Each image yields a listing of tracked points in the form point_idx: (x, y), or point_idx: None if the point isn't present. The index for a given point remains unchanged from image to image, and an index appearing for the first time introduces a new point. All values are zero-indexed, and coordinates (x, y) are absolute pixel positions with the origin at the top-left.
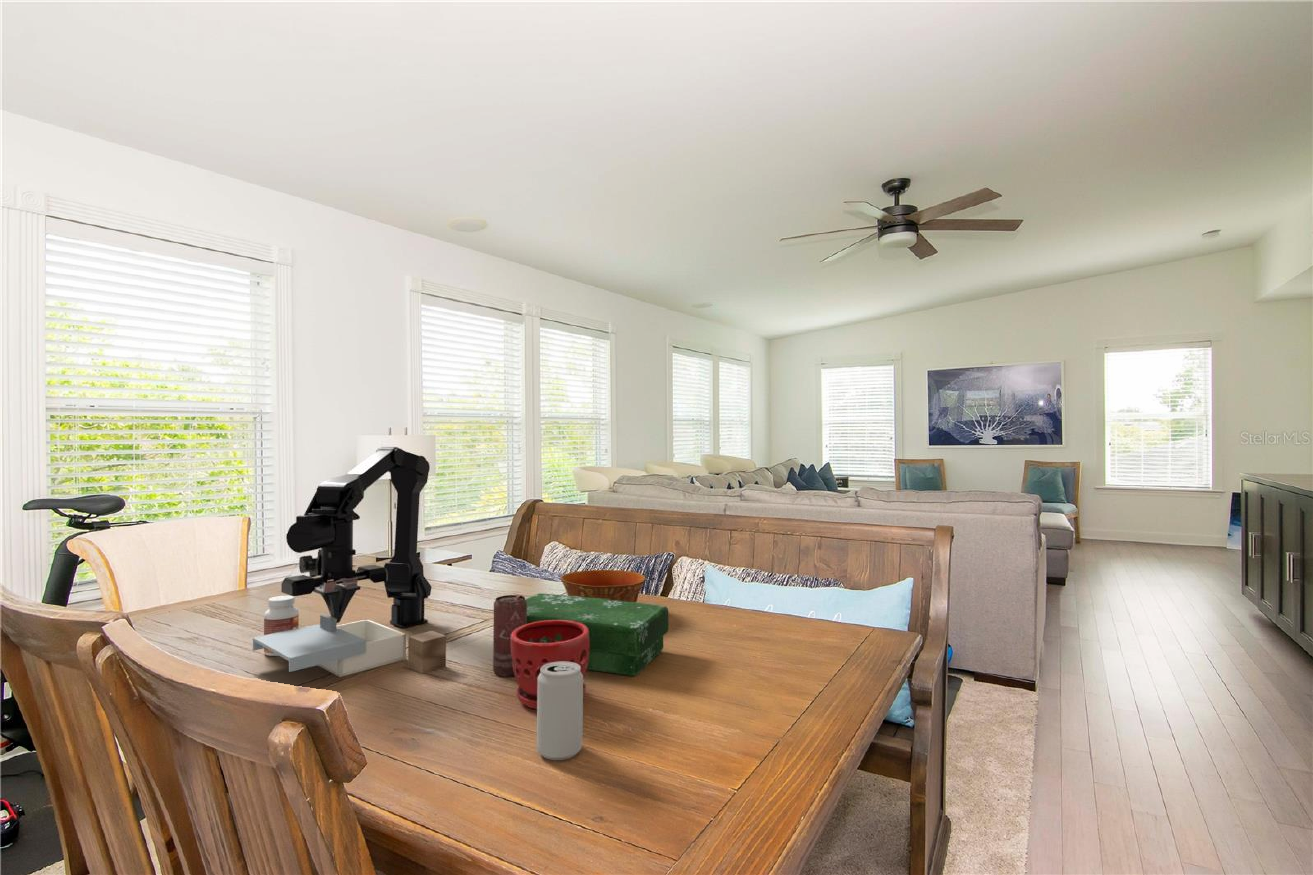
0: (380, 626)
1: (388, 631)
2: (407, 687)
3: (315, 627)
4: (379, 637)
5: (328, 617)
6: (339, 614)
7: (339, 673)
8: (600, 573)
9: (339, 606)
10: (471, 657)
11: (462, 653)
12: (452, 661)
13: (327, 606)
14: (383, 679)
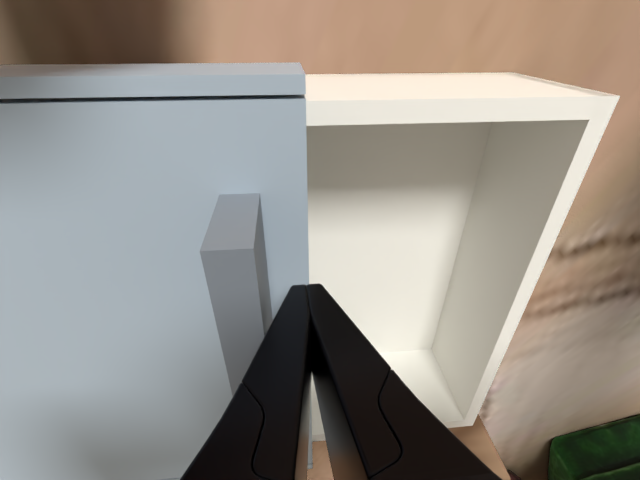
0: (516, 290)
1: (486, 344)
2: (321, 463)
3: (189, 166)
4: (486, 248)
5: (237, 354)
6: (315, 381)
7: None
8: None
9: (330, 432)
10: (527, 411)
11: (545, 384)
12: (484, 410)
13: (239, 387)
14: None
